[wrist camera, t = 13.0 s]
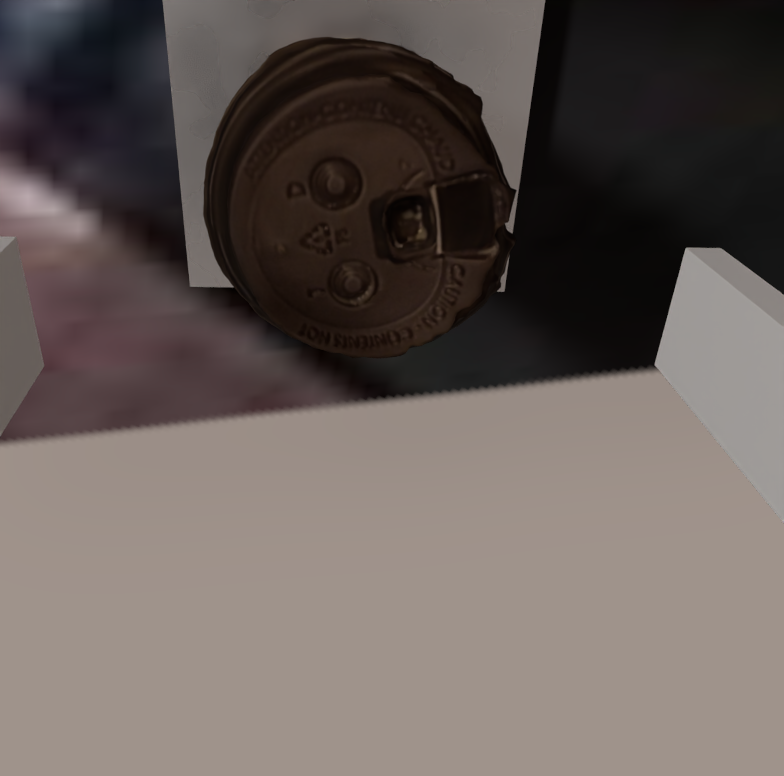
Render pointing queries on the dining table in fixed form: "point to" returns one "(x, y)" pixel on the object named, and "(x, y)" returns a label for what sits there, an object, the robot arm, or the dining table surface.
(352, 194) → the coffee cup
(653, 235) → the dining table surface
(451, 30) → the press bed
